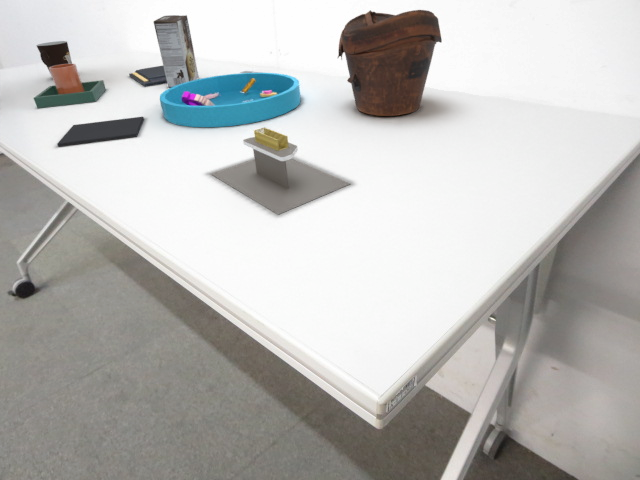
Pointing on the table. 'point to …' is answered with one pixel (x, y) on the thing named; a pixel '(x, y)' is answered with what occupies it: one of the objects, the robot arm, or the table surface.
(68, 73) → the cup
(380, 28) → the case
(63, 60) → the coffee mug
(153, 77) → the wallet
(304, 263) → the table surface
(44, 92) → the compartment
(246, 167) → the platform
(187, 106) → the blue plastic shallow tray
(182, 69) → the coffee box
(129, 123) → the mat
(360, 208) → the table surface
